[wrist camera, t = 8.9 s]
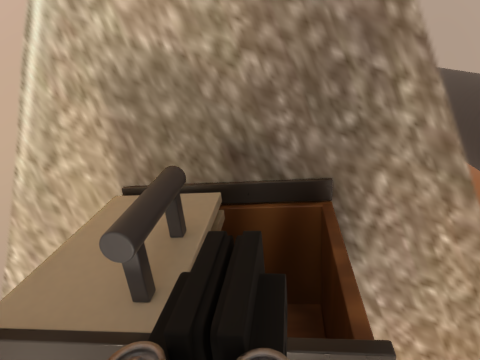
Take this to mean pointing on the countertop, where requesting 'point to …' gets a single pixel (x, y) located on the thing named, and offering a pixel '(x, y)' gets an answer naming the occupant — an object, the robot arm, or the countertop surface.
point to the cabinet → (275, 261)
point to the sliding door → (117, 263)
